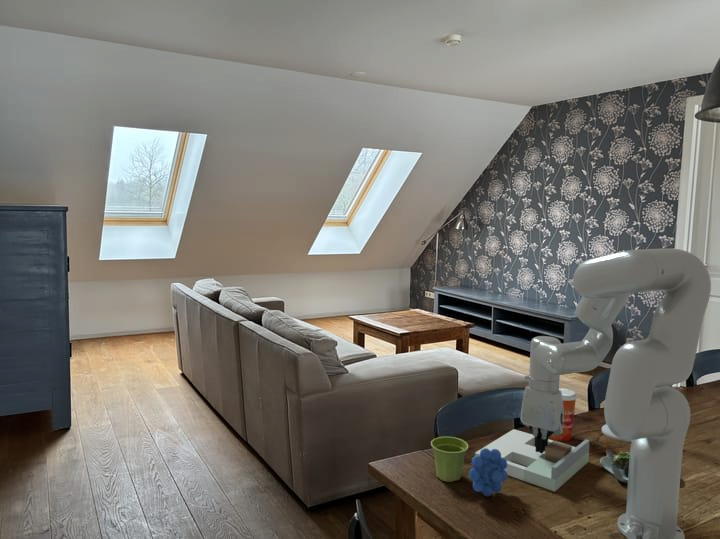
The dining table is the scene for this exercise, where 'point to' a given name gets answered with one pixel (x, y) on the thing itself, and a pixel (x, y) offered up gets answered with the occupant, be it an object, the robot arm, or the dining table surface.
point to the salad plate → (617, 465)
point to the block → (556, 451)
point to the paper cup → (567, 414)
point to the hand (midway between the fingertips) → (540, 450)
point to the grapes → (488, 471)
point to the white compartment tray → (537, 460)
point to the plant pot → (449, 457)
